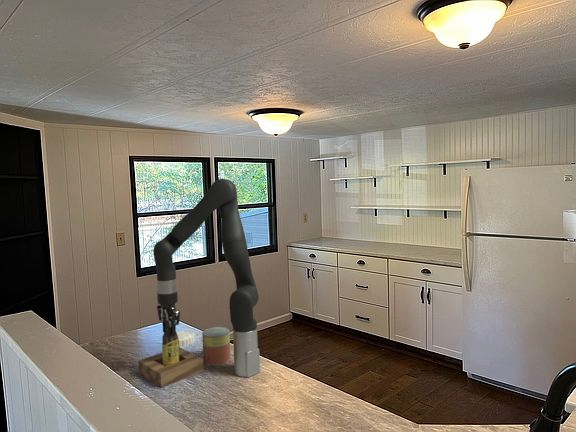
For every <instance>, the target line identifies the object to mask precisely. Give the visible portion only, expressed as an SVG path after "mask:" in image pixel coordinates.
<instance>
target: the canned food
mask: <svg viewBox="0 0 576 432" xmlns="http://www.w3.org/2000/svg"><path fill="white" fill-rule="evenodd" d="M230 333H231V331H230V329H229V328H228V327H223V326H216V327H215V326H213V327H210V328H206V329H204V330H203V331H202V332H201V335H202V336H201V337H202V353H203V354H202V356H203V357H202V359H203V364H205V365H207V366H214V367H215V366H222V365H225V364H227V363H229V362H230V361H231V339H230V336H231V335H230Z"/></svg>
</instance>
